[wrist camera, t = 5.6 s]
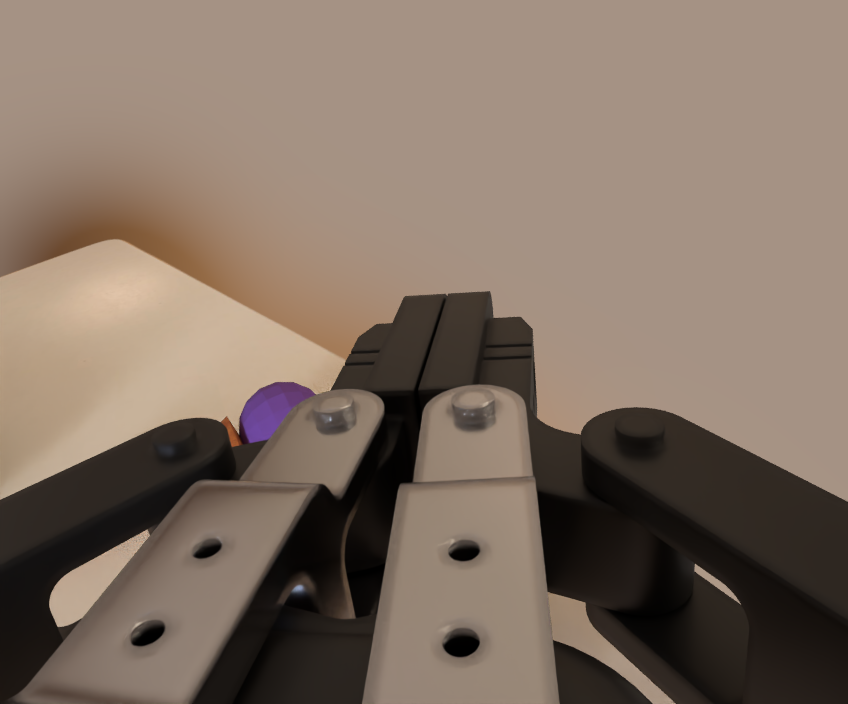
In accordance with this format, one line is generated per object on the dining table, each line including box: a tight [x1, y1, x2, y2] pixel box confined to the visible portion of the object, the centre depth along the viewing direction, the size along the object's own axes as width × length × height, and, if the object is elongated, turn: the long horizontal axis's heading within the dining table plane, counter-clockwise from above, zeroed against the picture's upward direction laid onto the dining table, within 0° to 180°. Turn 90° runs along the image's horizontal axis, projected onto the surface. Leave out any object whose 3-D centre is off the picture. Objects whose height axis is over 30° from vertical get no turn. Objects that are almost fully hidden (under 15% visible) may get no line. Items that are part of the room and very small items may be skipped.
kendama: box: [221, 382, 316, 447], centre depth 49 cm, size 6×6×20 cm
